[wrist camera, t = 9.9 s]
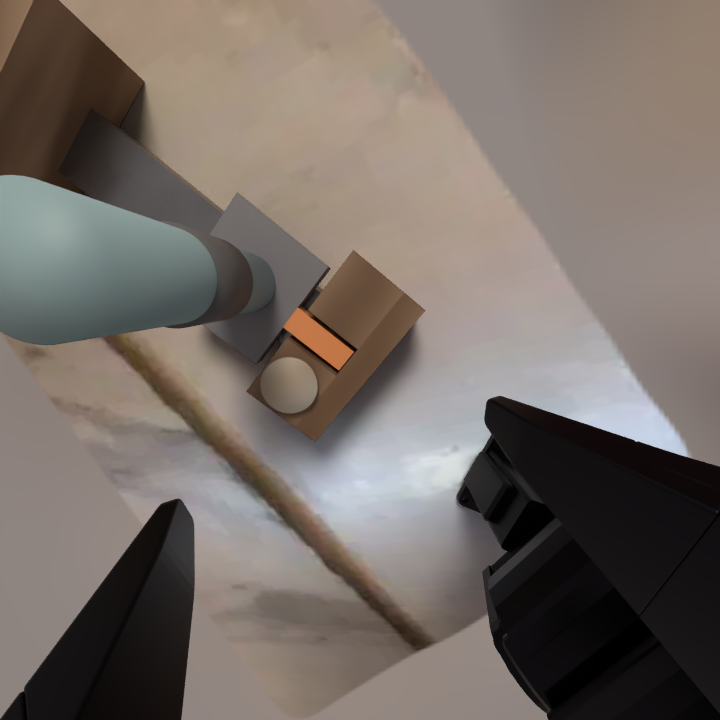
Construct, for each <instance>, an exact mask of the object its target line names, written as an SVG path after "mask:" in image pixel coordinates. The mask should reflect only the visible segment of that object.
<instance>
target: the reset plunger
mask: <svg viewBox="0 0 720 720" xmlns="http://www.w3.org/2000/svg"><path fill="white" fill-rule="evenodd" d="M283 328H285V329H286V330H287V331H289V332H290V333H291V334H292V335H294V336H295V337H296V338H298V339H299V340H300V341H301V342H303V343H304V344H305V345H307V346H308V347H309V348H310V349H312V350H313V351H314V352H316V353H317V354H318V355H319V356H321V357H322V358H323V359H325V360H326V361H327V362H328V363H330V364H331V365H332V366H334V367H335V368H336V369H338V370H340V368H341V367H342V366H343V365H344V364H345V362H346V361H347V360H348V359H349V357H350V356H351V355H352V354H353V352H354V349H355V348H354V347H353V346H352V345H351V344H349V343H348V342H347V341H346V340H344V339H343V338H342V337H340V336H339V335H338V334H337V333H335V332H334V331H333V330H332V329H330V328H329V327H328V326H327V325H325V324H324V323H323V322H322V321H320V320H319V319H318V318H316V317H315V316H314V315H313V314H311V313H310V312H309V311H308V310H306V309H305V308H304V307H298V308H297V309H296V310H295V312H294V313H293V314H292V316H291V317H290V318H289V320H288V321H287V322H286V324H285V325H284V326H283Z"/></svg>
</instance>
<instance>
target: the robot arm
mask: <svg viewBox="0 0 720 720" xmlns="http://www.w3.org/2000/svg"><path fill="white" fill-rule="evenodd" d="M484 420H485V424H486V426H487V428H488V429H489V431H490V432H491V434H492V435H491V437H490V439H489V441H488V442H487V444H486V446H485V447H484V449H483V451H482V452H480V453H479V455H478V456H477V458H476V460H475V462H474V463H473V465H472V467H471V469H470V470H469V472H468V474H467V476H466V477H465V479H464V480H465V482H464V484H463V486H462V488H461V489H460V491H459V493H458V495H457V499H458V502H459V503H460V504H461V505H462V506H465V507H467V508H469V509H472V510H474V511H477V512H479V513H481V514H482V516H483V518H484V519H485V520H486V521H488V523H489V525H490V527H491V528H492V530H493V532H494V534H495V536H496V538H497V540H498V542H499V543H500V545H501V547H502V548H503V549H504V550H506V551H507V552H506V553H505V554H504V555H503V556H502V557H501V558H500V559H499V560H498V561H497V562H496V563H494V564H493V565H492V566H488V567H487V568H486V569H485V570H484V571H483V579H484V586H485V594H486V601H487V609H488V616H489V623H490V629H491V633H492V636H493V641H494V645H495V647H496V649H497V650H498V652H499V654H500V655H501V657H502V659H503V660H504V662H505V664H506V666H507V668H508V670H509V671H510V673H511V674H512V675H513V677H514V678H515V680H516V681H517V683H518V684H519V685H520V687H521V688H522V689H523V690H524V692H525V693H526V694H527V695H528V696H529V698H530V699H531V700H532V701H533V702H534V703H535V704H536V705H537V706H538V707H539V708H541V709H542V710H543V711H544V712H546V713H547V717H548V720H720V467H719V466H715V465H712V464H708V463H705V462H702V461H698V460H695V459H692V458H688V457H685V456H681V455H678V454H675V453H672V452H669V451H665V450H662V449H659V448H656V447H653V446H650V445H647V444H644V443H641V442H635V441H634V440H632V439H629V438H626V437H623V436H620V435H617V434H614V433H611V432H608V431H605V430H602V429H599V428H596V427H593V426H590V425H587V424H584V423H581V422H578V421H575V420H572V419H569V418H566V417H563V416H560V415H557V414H554V413H551V412H548V411H545V410H542V409H539V408H536V407H533V406H530V405H527V404H524V403H521V402H518V401H515V400H512V399H508V398H505V397H502V396H497V397H494V398H491V399H488V401H487V403H486V410H485V417H484ZM463 497H467V498H466V499H464V500H463V499H462V498H463ZM194 585H195V565H194V522H193V518H192V516H191V515H190V513H189V511H188V510H187V508H186V506H185V505H184V503H183V502H182V500H180V499H174V500H171V501H168V502H165V503H162V504H161V505H160V506H159V507H158V508H157V510H156V511H155V512H154V514H153V515H152V516H151V518H150V519H149V520H148V522H147V523H146V524H145V526H144V527H143V528H142V530H141V531H140V532H139V534H138V535H137V536H136V538H135V539H134V540H133V542H132V543H131V544H130V546H129V547H128V548H127V550H126V551H125V553H124V554H123V555H122V557H121V558H120V559H119V561H118V562H117V563H116V565H115V566H114V567H113V569H112V570H111V571H110V573H109V574H108V575H107V577H106V578H105V579H104V581H103V582H102V583H101V585H100V586H99V587H98V589H97V590H96V591H95V593H94V594H93V596H92V597H91V598H90V600H89V601H88V602H87V604H86V605H85V606H84V608H83V609H82V610H81V612H80V613H79V614H78V616H77V617H76V618H75V620H74V621H73V622H72V624H71V625H70V626H69V628H68V629H67V630H66V632H65V633H64V634H63V636H62V637H61V638H60V640H59V641H58V642H57V644H56V645H55V646H54V648H53V649H52V650H51V652H50V653H49V655H48V656H47V657H46V659H45V660H44V661H43V663H42V664H41V665H40V667H39V668H38V669H37V671H36V672H35V673H34V675H33V676H32V677H31V679H30V680H29V681H28V683H27V684H26V685H25V687H24V691H23V692H21V693H19V695H18V696H17V697H16V699H15V700H14V701H13V703H12V704H11V705H10V707H9V708H8V709H7V711H6V712H5V713H4V715H3V716H2V717H1V719H0V720H181V716H182V707H183V697H184V688H185V678H186V668H187V658H188V648H189V639H190V630H191V620H192V611H193V601H194Z"/></svg>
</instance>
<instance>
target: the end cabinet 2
mask: <svg viewBox="0 0 720 720" xmlns="http://www.w3.org/2000/svg"><path fill="white" fill-rule="evenodd" d="M308 310H309V311H310V312H311V313H312V314H314V315H315V316H316V317H317V318H319V319H320V320H321V321H322V322H324V323H325V324H326V325H327V326H329V327H330V328H331V329H333V330H334V331H335V332H336V333H338V334H339V335H340V336H341V337H343V338H344V339H345V340H346V341H348V342H349V343H350V344H351V345H353V346H354V347H355V349H354V352H353V354H352V355H351V356H350V357H349V359H348V360H347V361H346V362H345V364H344V365H343V366H342V367H341V368H340V370H338V369H336V368H335V367H334V366H332V365H331V364H330V363H328V362H327V361H326V360H325V359H323V358H322V357H321V356H319V355H318V354H317V353H316V352H314V351H313V350H312V349H310V348H309V347H308V346H307V345H305V344H304V343H303V342H301V341H300V340H299V339H298V338H296V337H295V336H294V335H292V336H290V337H288V338H286V340H285V341H284V342H283V344H282V345H281V346H280V348H279V349H278V350H277V352H276V353H275V354H274V356H273V357H272V358H271V360H270V361H269V362H268V364H267V365H266V366H265V368H264V369H263V370H262V371H261V373H260V374H259V375H258V377H257V378H256V379H255V381H254V382H253V383H252V385H251V386H250V387H249V389H248V390H247V391H246V392H248V393H249V394H251V395H252V396H253V397H255V398H256V399H257V400H259V401H260V402H261V403H263V404H264V405H265V406H267V407H268V408H270V409H271V410H272V411H274V412H275V413H276V414H278V415H279V416H280V417H282V418H283V419H285V420H286V421H287V422H289V423H290V424H291V425H293V426H294V427H295V428H297V429H298V430H300V431H301V432H302V433H304V434H305V435H306V436H308V437H309V438H310V439H312V440H313V441H314V442H315V441H316V440H317V439H318V438H319V436H320V435H321V434H322V433H323V432H324V430H325V429H326V428H327V427H328V426H329V424H330V423H331V422H332V421H333V420H334V419H335V417H336V416H337V415H338V414H339V413H340V411H341V410H342V409H343V408H344V407H345V405H346V404H347V403H348V402H349V401H350V399H351V398H352V397H353V396H354V395H355V394H356V392H357V391H358V390H359V389H360V388H361V386H362V385H363V384H364V383H365V382H366V380H367V379H368V378H369V377H370V376H371V374H372V373H373V372H374V371H375V370H376V369H377V367H378V366H379V365H380V364H381V363H382V361H383V360H384V359H385V358H386V357H387V355H388V354H389V353H390V352H391V351H392V349H393V348H394V347H395V346H396V345H397V344H398V342H399V341H400V340H401V339H402V338H403V336H404V335H405V334H406V333H407V332H408V330H409V329H410V328H411V327H412V326H413V324H414V323H415V322H416V321H417V320H418V319H419V317H420V316H421V315H422V314H423V313H424V311H425V310H424V309H423V308H422V307H421V306H420V305H418V304H417V303H416V302H415V301H414V300H413V299H411V298H410V297H409V296H408V295H407V294H405V293H404V292H403V291H402V290H401V289H399V288H398V287H397V286H396V285H395V284H393V283H392V282H391V281H390V280H389V279H387V278H386V277H385V276H384V275H383V274H381V273H380V272H379V271H378V270H377V269H376V268H374V267H373V266H372V265H371V264H370V263H368V262H367V261H366V260H365V259H364V258H362V257H361V256H360V255H359V254H358V253H356V252H355V251H354V250H353V251H352V252H351V254H350V255H349V256H348V258H347V259H346V260H345V262H344V263H343V264H342V266H341V267H340V268H339V270H338V271H337V272H336V274H335V275H334V276H333V278H332V279H331V280H330V282H329V283H328V284H327V286H326V287H325V288H324V289H323V291H322V292H321V293H320V295H319V296H318V297H317V299H316V300H315V301H314V303H313V304H312V305H311V307H310V308H309V309H308Z"/></svg>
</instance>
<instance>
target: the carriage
mask: <svg viewBox="0 0 720 720" xmlns="http://www.w3.org/2000/svg"><path fill="white" fill-rule="evenodd" d="M330 269H331V268H329V267H328V266H327V265H326V264H325V263H323V262H322V261H321V260H320V259H319V258H317V257H316V256H315V255H314V254H312V253H311V252H310V251H309V250H308V249H306V248H305V247H304V246H303V245H301V244H300V243H299V242H298V241H297V240H295V239H294V238H293V237H292V236H290V235H289V234H288V233H287V232H286V231H284V230H283V229H282V228H281V227H279V226H278V225H277V224H276V223H275V222H273V221H272V220H271V219H270V218H269V217H267V216H266V215H265V214H264V213H262V212H261V211H260V210H259V209H258V208H256V207H255V206H254V205H253V204H251V203H250V202H249V201H248V200H247V199H245V198H244V197H243V196H241V195H240V194H239V193H238V192H237V193H236V195H235V196H234V198H233V199H232V201H231V202H230V204H229V205H228V207H227V209H226V210H225V212H224V213H223V215H222V216H221V218H220V219H219V221H218V222H217V224H216V225H215V227H214V229H213V230H212V232H211V233H210V235H209V234H206V233H203V232H201V231H198V230H195V229H193V228H190V227H187V226H185V225H182V224H179V223H175V222H171V221H156V220H153V219H150V218H148V217H145V216H142V215H139V214H136V213H133V212H130V211H127V210H124V209H121V208H119V207H116V206H113V205H110V204H107V203H104V202H101V201H98V200H95V199H93V198H90V197H87V196H84V195H81V194H78V193H75V192H72V191H69V190H66V189H64V188H61V187H58V186H55V185H52V184H49V183H46V182H43V181H40V180H37V179H35V178H30V177H26V176H19V175H3V176H0V331H1V332H2V333H4V334H6V335H8V336H10V337H12V338H14V339H17V340H20V341H23V342H27V343H32V344H38V345H56V344H62V343H68V342H74V341H80V340H86V339H92V338H98V337H104V336H110V335H116V334H122V333H128V332H134V331H141V330H147V329H153V328H159V327H167V328H185V327H191V326H196V325H201V324H202V325H203V326H205V327H206V328H207V329H209V330H210V331H211V332H213V333H214V334H215V335H217V336H218V337H219V338H221V339H222V340H223V341H225V342H226V343H227V344H229V345H230V346H231V347H233V348H234V349H235V350H237V351H238V352H239V353H241V354H242V355H243V356H245V357H246V358H247V359H249V360H250V361H251V362H253V363H254V364H257V363H258V362H260V361H261V360H262V359H263V358H264V357H265V355H266V354H267V353H268V351H269V350H270V349H271V347H272V346H273V345H274V343H275V342H276V341H277V339H278V338H279V337H280V335H281V334H282V333H283V331H284V330H285V328H283V326H284V325H285V324H286V322H287V321H288V320H289V318H290V317H291V316H292V314H293V313H294V312H295V310H296V309H297V308H298V307H302V306H303V305H304V303H305V302H306V301H307V299H308V298H309V297H310V295H311V294H312V293H313V291H314V290H315V289H316V287H317V286H318V285H319V283H320V282H321V281H322V279H323V278H324V277H325V275H326V274H327V273H328V271H329V270H330Z"/></svg>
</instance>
